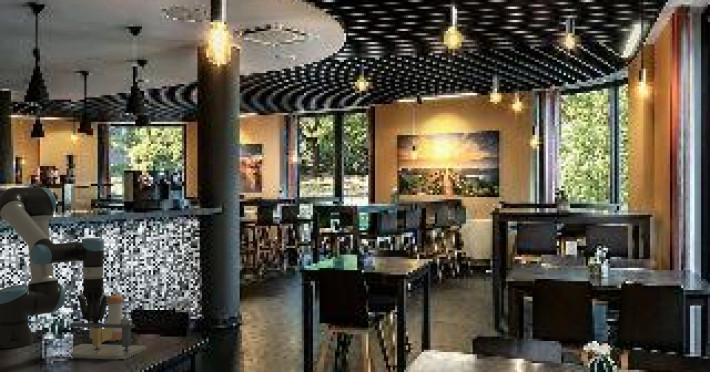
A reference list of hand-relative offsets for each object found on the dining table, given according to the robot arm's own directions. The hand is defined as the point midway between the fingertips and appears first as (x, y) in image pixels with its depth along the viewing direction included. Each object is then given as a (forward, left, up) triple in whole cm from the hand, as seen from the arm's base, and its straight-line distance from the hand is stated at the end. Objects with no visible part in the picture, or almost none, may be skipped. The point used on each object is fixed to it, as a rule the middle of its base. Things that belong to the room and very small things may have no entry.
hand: (93, 337), depth 264 cm
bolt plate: (+8, -6, -4) cm, 11 cm away
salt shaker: (-1, +18, -5) cm, 18 cm away
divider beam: (+8, -6, -2) cm, 10 cm away
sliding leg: (+6, -3, -2) cm, 7 cm away
